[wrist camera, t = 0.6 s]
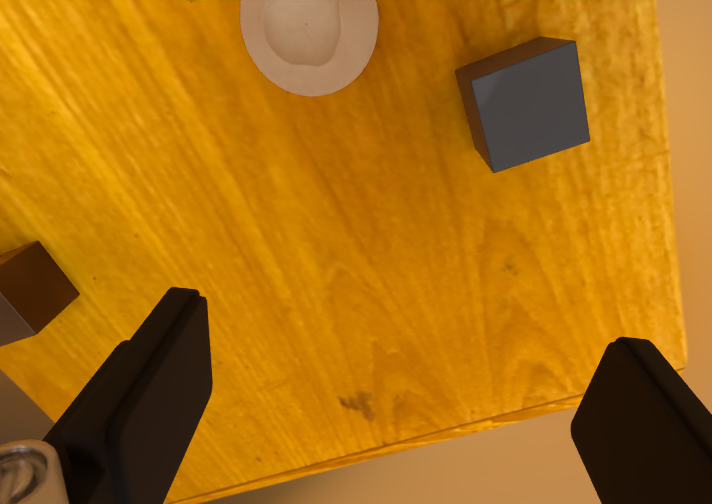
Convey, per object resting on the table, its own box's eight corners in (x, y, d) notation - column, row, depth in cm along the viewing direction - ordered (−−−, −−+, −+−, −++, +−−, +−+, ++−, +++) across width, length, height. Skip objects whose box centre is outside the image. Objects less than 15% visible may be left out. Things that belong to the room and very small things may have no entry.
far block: (-14, 260, 34) (-74, 297, 29) (38, 240, 33) (-15, 275, 28) (29, 311, 36) (-20, 353, 31) (80, 294, 35) (36, 335, 30)
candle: (346, -60, 23) (325, -106, 15) (396, 40, 26) (405, 52, 17) (262, 2, 25) (197, -6, 16) (315, 91, 27) (284, 128, 18)
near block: (454, 69, 26) (469, 80, 22) (541, 35, 25) (576, 40, 21) (475, 149, 28) (493, 174, 24) (556, 121, 27) (590, 141, 23)
